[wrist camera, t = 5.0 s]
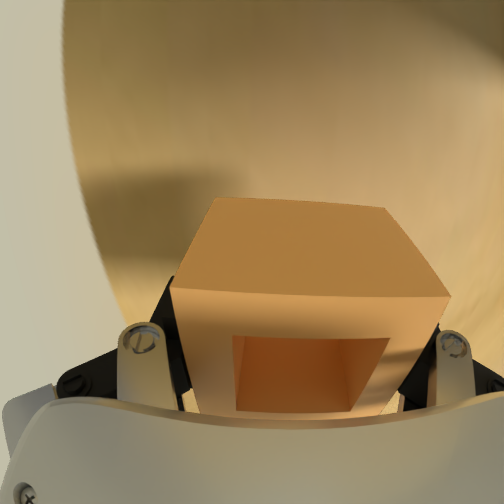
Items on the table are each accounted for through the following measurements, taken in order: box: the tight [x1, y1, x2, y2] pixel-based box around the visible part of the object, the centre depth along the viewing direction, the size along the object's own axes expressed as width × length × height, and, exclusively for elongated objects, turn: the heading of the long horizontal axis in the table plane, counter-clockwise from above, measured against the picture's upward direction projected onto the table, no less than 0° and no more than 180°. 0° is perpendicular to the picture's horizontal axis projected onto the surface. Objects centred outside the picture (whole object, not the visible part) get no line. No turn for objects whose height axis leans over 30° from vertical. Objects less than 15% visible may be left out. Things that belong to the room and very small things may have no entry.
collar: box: [169, 197, 451, 420], centre depth 9 cm, size 6×6×5 cm
